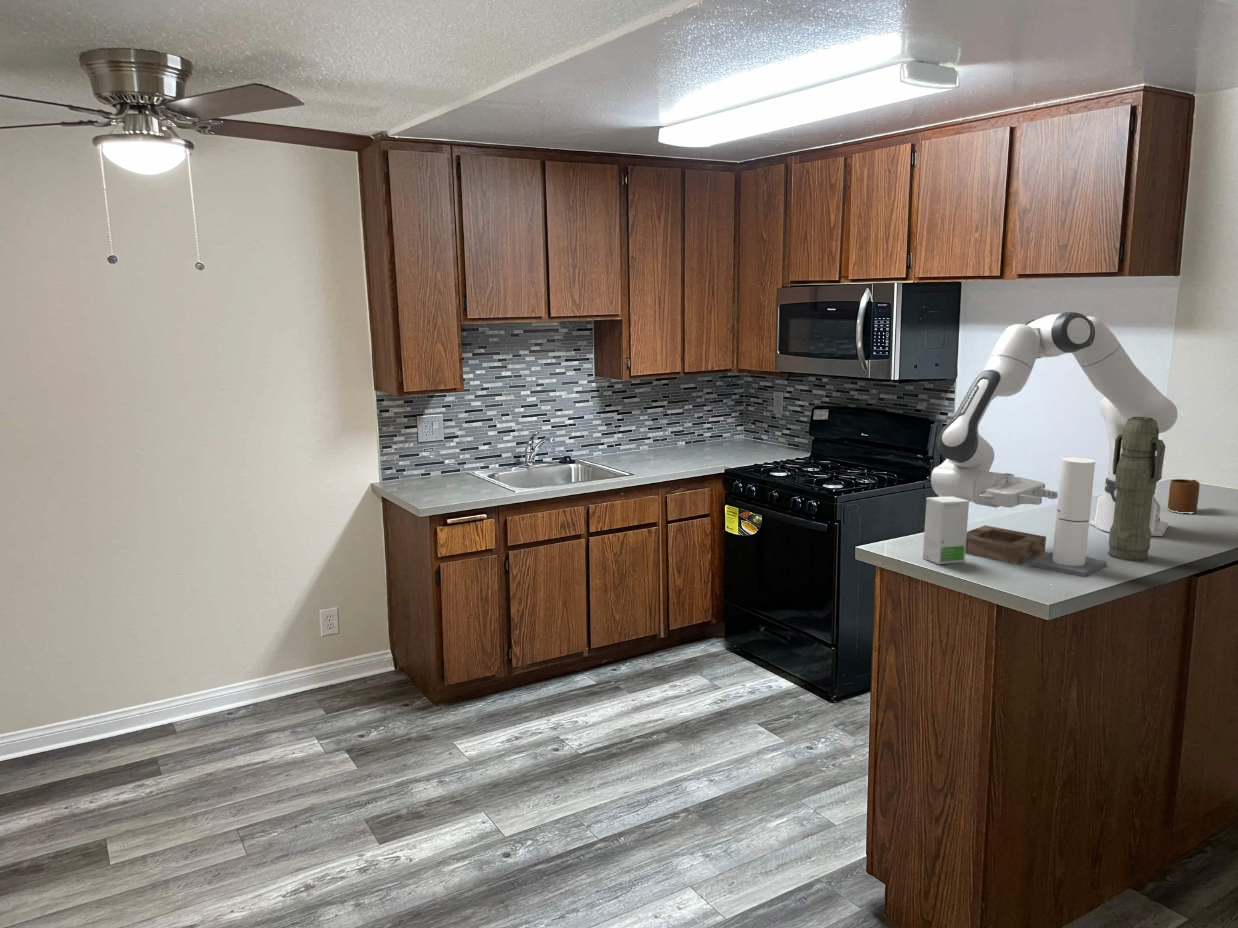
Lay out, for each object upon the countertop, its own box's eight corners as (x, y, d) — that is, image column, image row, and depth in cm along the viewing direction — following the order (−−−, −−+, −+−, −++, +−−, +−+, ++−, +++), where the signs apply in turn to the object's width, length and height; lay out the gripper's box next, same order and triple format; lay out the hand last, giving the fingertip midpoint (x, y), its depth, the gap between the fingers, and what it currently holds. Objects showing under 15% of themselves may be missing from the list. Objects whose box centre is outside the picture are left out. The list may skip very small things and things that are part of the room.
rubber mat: (1055, 554, 228) (1055, 551, 228) (1106, 564, 219) (1106, 560, 219) (1031, 565, 219) (1031, 561, 218) (1083, 576, 210) (1084, 572, 210)
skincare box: (938, 565, 219) (942, 502, 216) (920, 558, 225) (924, 497, 222) (966, 562, 222) (970, 500, 219) (948, 555, 228) (952, 494, 225)
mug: (1180, 505, 282) (1183, 476, 281) (1207, 510, 276) (1210, 480, 275) (1162, 511, 275) (1166, 480, 274) (1190, 515, 269) (1193, 484, 268)
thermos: (1143, 564, 219) (1158, 422, 213) (1095, 553, 229) (1108, 416, 223) (1161, 559, 224) (1177, 419, 218) (1113, 548, 234) (1127, 414, 228)
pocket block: (984, 539, 242) (985, 525, 242) (1044, 551, 231) (1046, 536, 230) (955, 550, 232) (956, 535, 231) (1017, 564, 220) (1018, 548, 219)
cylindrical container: (1076, 557, 222) (1086, 457, 217) (1090, 566, 215) (1101, 462, 210) (1047, 557, 222) (1056, 457, 218) (1060, 565, 215) (1069, 462, 211)
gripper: (975, 482, 223) (1031, 491, 213) (1011, 472, 237) (1066, 480, 227) (973, 507, 224) (1029, 517, 214) (1009, 496, 238) (1063, 504, 228)
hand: (1048, 498), depth 220 cm, fingers open, 8 cm apart
